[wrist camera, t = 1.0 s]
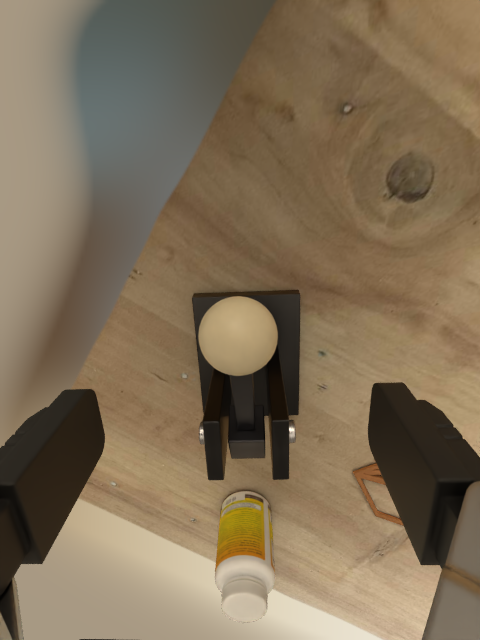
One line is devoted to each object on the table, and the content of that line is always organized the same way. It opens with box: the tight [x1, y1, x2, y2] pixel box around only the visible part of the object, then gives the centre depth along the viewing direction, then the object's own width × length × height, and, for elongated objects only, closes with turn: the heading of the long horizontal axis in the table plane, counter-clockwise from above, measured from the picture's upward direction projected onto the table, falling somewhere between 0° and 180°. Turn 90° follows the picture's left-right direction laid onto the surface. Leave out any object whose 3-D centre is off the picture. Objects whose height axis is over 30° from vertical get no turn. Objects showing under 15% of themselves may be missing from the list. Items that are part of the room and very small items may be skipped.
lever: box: [198, 296, 278, 459], centre depth 19 cm, size 13×3×3 cm, turn 3°
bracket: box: [192, 290, 300, 480], centre depth 28 cm, size 12×9×13 cm
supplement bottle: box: [215, 491, 275, 623], centre depth 36 cm, size 6×6×10 cm
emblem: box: [353, 463, 404, 526], centre depth 38 cm, size 12×10×1 cm
